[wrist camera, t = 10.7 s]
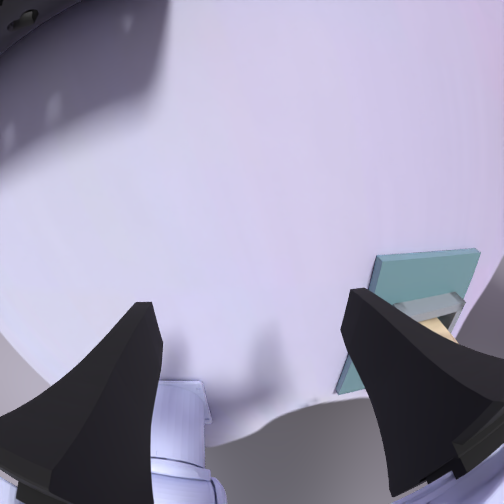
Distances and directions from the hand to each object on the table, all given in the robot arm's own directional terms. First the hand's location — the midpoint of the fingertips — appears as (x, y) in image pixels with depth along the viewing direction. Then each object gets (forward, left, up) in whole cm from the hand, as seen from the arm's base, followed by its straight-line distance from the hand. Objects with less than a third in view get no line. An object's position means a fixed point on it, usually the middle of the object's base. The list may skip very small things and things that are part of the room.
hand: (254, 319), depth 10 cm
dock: (-12, -18, -9) cm, 24 cm away
